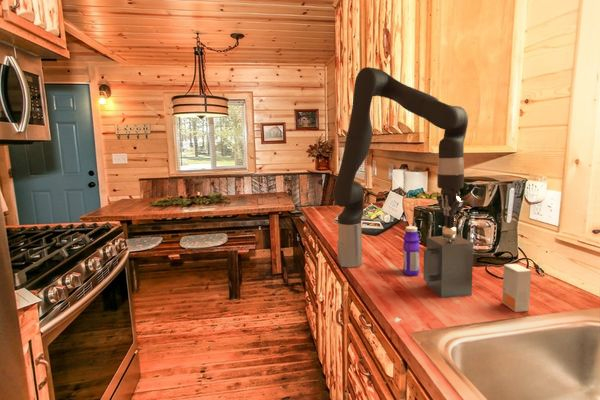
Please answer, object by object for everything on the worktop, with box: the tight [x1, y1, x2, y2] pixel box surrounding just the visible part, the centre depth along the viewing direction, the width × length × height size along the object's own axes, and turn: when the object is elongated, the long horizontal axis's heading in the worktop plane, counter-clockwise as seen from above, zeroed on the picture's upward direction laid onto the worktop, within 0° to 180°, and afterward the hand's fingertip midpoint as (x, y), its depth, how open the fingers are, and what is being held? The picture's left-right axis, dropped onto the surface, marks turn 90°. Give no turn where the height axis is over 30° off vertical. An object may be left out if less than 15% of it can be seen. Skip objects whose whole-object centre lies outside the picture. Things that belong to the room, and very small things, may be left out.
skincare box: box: [501, 263, 532, 313], centre depth 102 cm, size 6×4×12 cm
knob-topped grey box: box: [422, 234, 474, 299], centre depth 115 cm, size 13×10×17 cm
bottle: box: [402, 225, 420, 277], centre depth 131 cm, size 7×6×17 cm
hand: (449, 227), depth 113 cm, fingers closed
